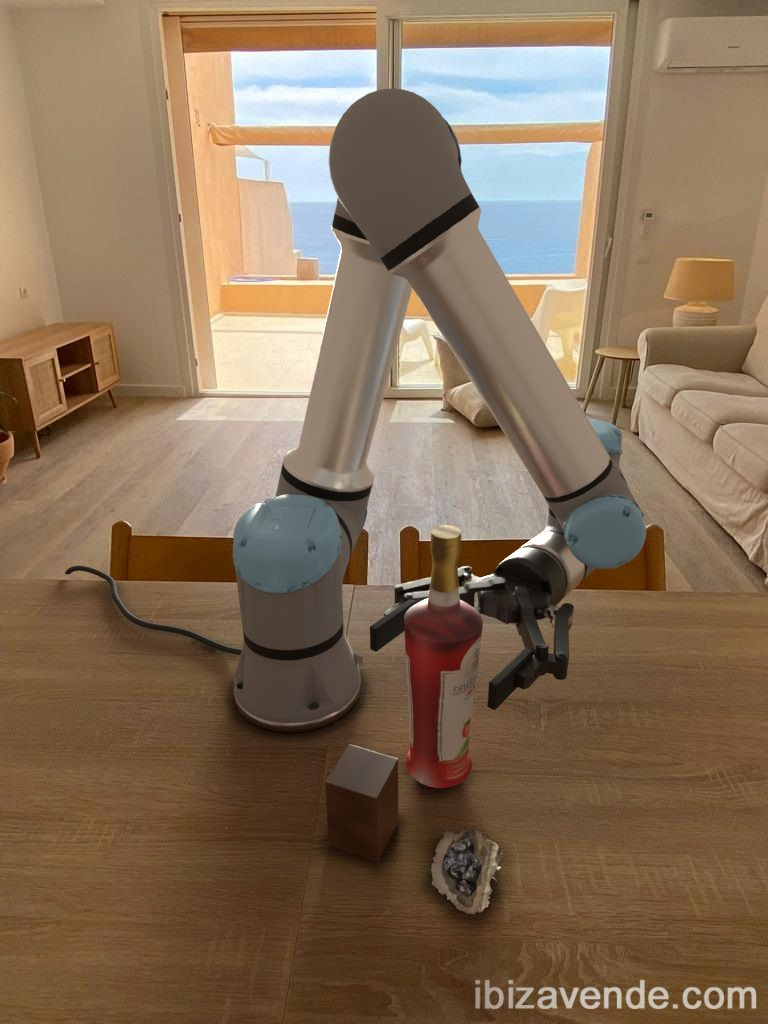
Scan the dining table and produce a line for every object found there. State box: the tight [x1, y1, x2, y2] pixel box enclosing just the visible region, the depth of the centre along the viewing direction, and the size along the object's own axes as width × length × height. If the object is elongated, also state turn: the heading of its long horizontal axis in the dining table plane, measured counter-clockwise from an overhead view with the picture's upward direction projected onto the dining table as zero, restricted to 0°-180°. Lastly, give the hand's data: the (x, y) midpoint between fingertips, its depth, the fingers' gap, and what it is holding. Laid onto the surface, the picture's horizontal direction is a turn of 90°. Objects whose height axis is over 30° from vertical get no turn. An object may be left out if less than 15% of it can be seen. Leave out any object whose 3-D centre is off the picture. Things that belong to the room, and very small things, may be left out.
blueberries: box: [430, 828, 504, 916], centre depth 61 cm, size 7×8×2 cm
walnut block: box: [324, 743, 399, 864], centre depth 64 cm, size 5×5×8 cm
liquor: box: [404, 524, 484, 789], centre depth 67 cm, size 7×7×28 cm
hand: (428, 666), depth 64 cm, fingers open, 13 cm apart
